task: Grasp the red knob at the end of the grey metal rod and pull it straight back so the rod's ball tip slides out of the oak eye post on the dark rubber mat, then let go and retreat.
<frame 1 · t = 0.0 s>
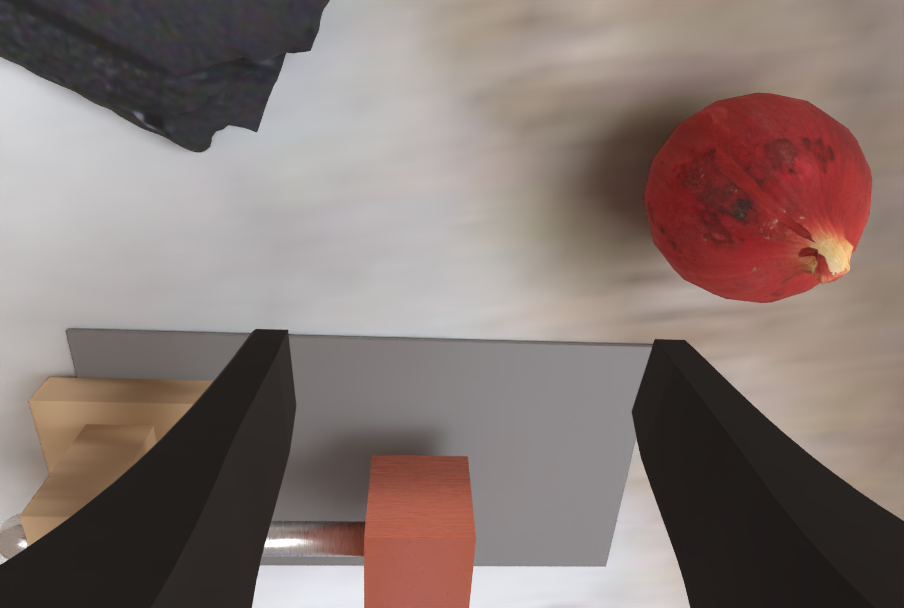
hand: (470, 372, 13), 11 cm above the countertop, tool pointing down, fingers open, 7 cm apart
mat: (370, 460, 27), on the countertop
eye post: (147, 460, 27), resting on mat
onion: (699, 162, 22), on the countertop
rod: (238, 538, 23), point 4 cm above the countertop, slide at 0.0 cm
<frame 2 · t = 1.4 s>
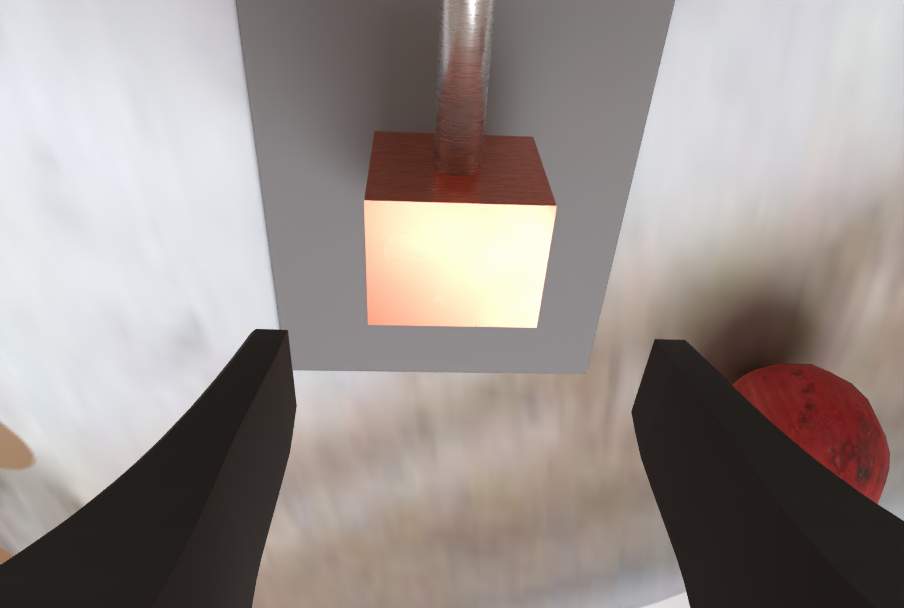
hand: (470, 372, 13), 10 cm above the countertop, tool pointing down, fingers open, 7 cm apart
mat: (452, 99, 20), on the countertop
onion: (750, 371, 27), on the countertop
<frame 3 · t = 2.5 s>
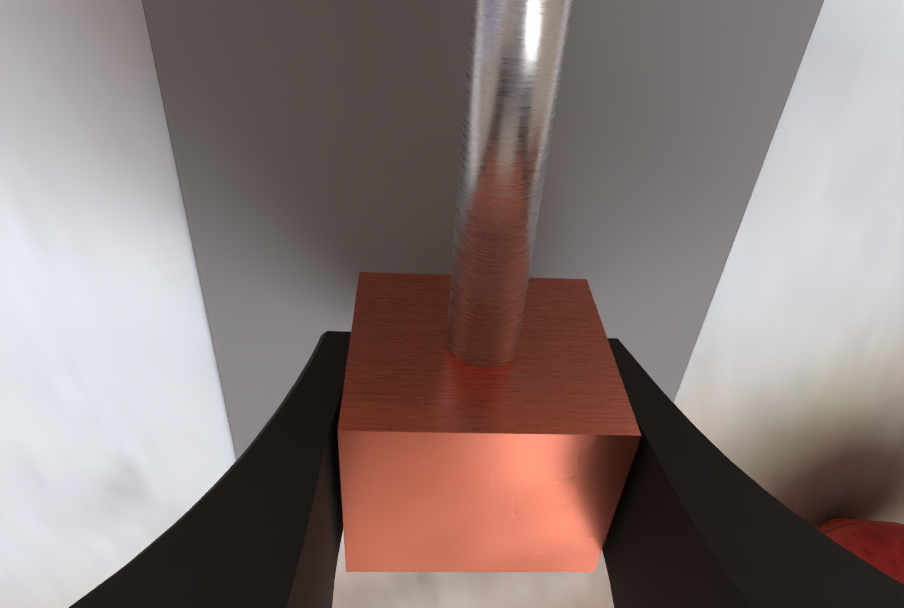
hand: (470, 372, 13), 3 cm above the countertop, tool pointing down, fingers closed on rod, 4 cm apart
mat: (469, 211, 14), on the countertop
onion: (832, 515, 22), on the countertop
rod: (514, 65, 8), point 4 cm above the countertop, slide at 0.0 cm, touching gripper
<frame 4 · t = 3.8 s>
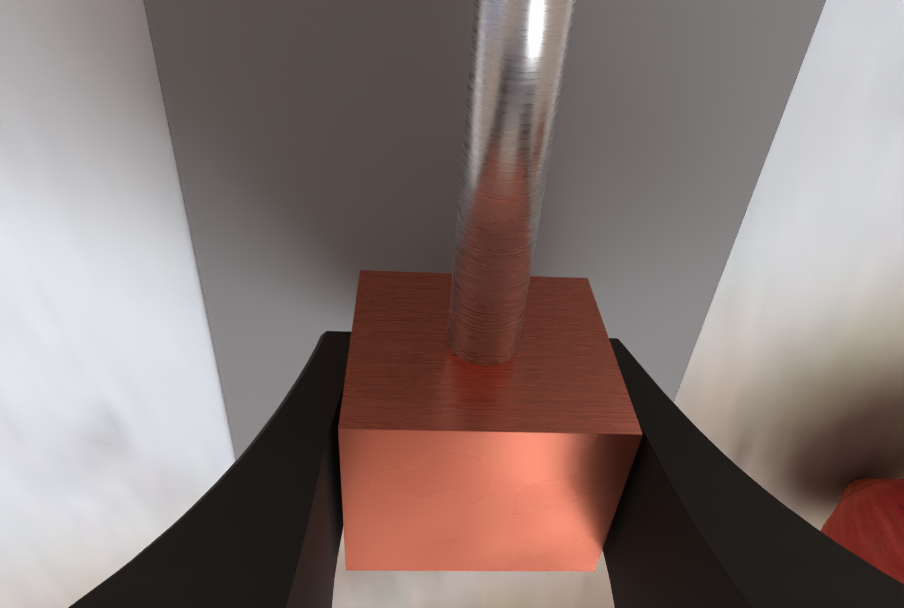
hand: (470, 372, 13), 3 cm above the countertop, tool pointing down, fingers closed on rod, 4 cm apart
mat: (478, 117, 13), on the countertop
onion: (858, 476, 21), on the countertop
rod: (517, 62, 8), point 4 cm above the countertop, slide at 2.1 cm, touching gripper
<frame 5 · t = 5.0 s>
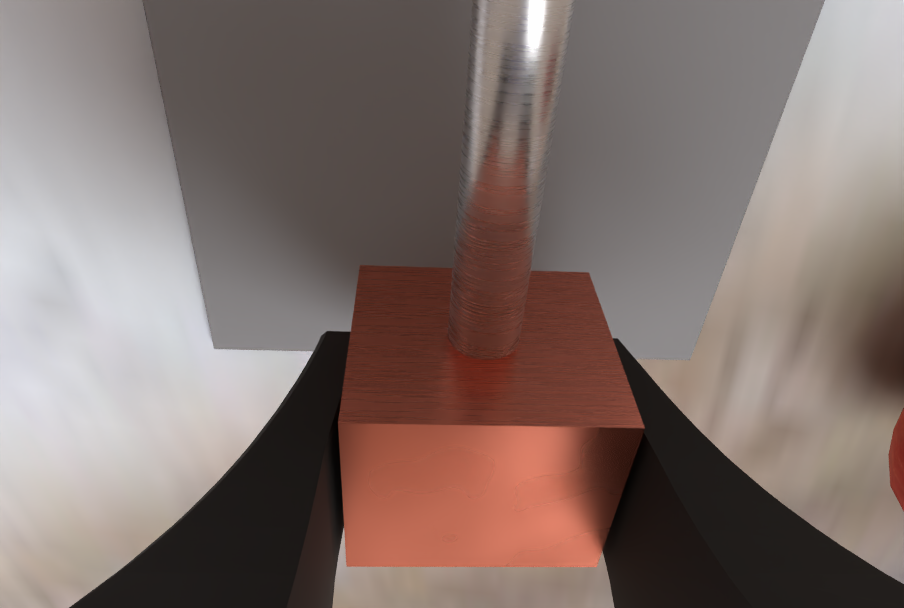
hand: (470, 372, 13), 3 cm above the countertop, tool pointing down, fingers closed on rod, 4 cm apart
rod: (517, 52, 8), point 4 cm above the countertop, slide at 6.9 cm, touching gripper
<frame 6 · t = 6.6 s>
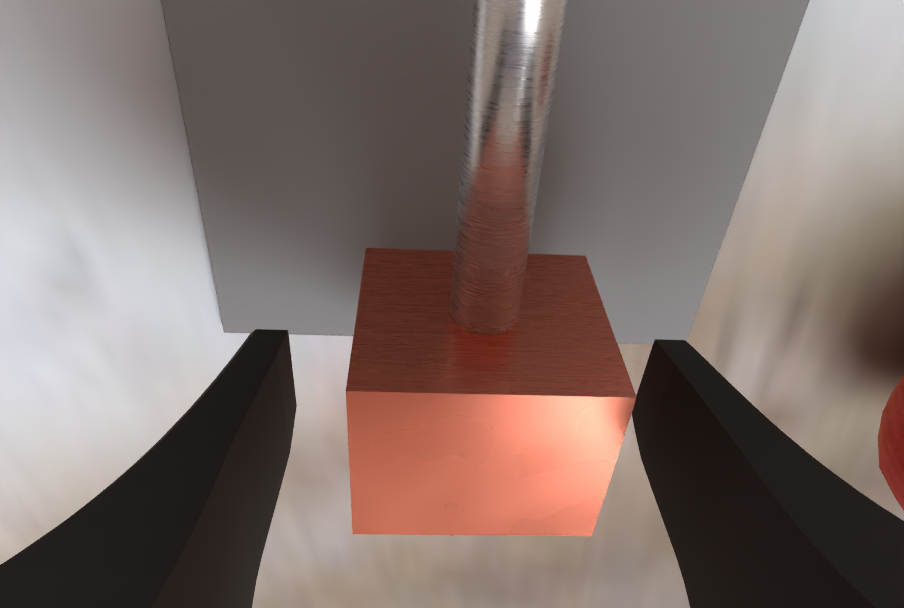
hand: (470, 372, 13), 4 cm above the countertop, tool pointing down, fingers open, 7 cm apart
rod: (515, 39, 9), point 4 cm above the countertop, slide at 6.9 cm
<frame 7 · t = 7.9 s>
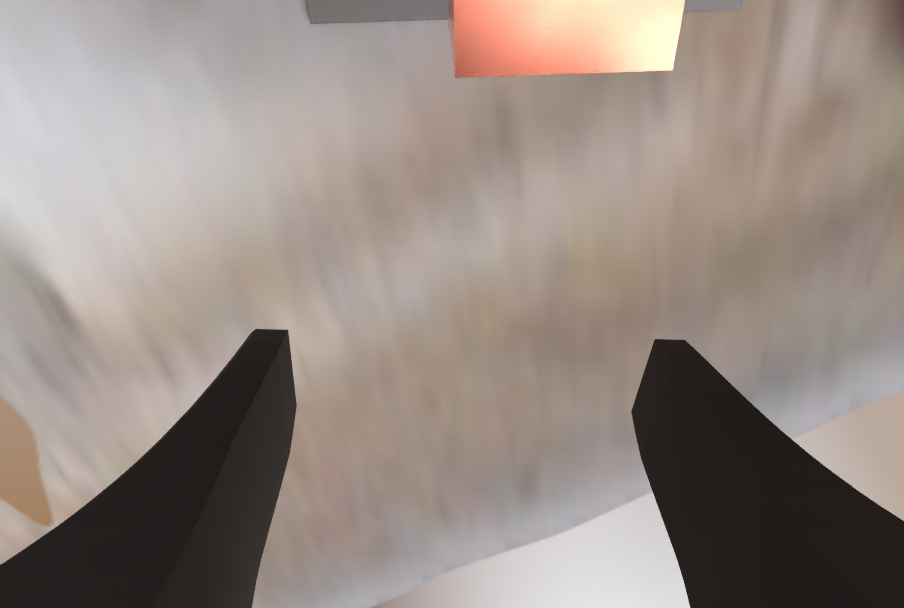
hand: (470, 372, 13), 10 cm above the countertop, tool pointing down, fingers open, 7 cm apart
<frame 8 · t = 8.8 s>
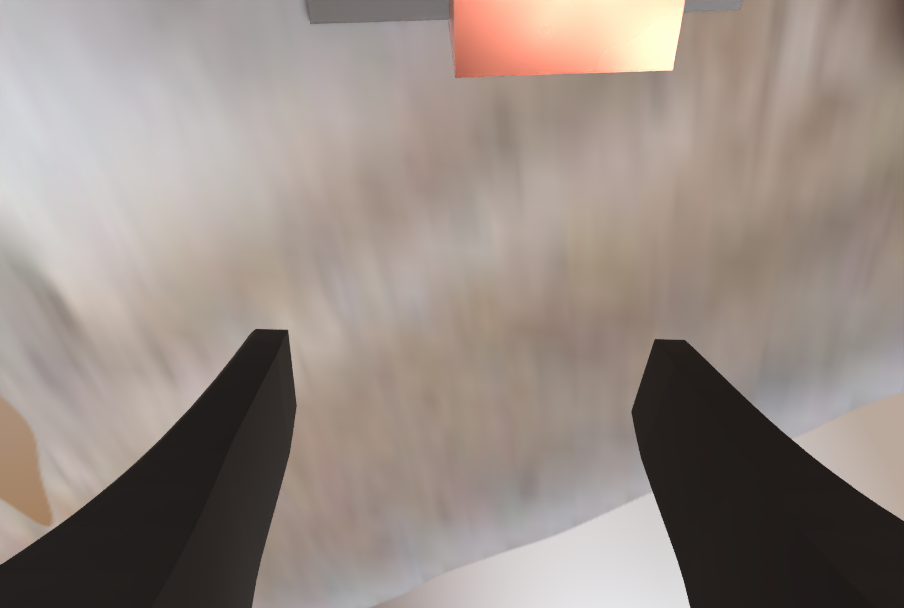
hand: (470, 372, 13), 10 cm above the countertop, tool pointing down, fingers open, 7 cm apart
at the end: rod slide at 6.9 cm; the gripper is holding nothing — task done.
